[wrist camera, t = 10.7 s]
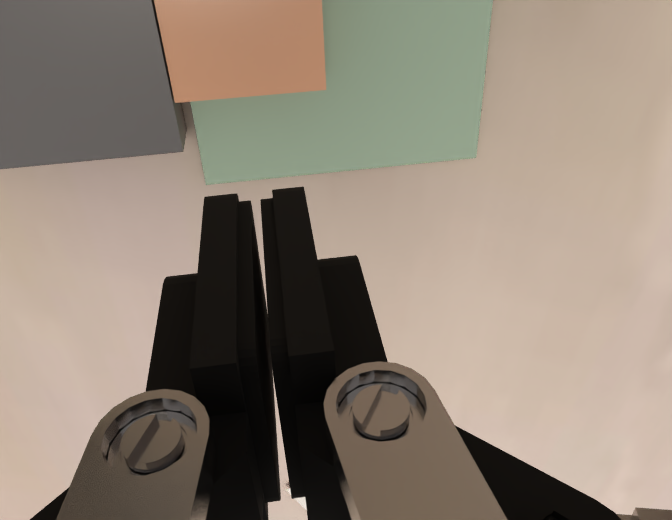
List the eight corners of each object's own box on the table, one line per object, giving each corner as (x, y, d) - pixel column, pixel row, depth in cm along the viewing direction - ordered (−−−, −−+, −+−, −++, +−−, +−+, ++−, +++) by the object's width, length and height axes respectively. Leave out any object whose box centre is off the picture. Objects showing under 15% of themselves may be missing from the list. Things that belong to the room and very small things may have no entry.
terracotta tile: (145, -77, 25) (139, -71, 23) (312, -87, 25) (317, -81, 24) (178, 87, 29) (175, 102, 27) (321, 75, 30) (326, 89, 28)
